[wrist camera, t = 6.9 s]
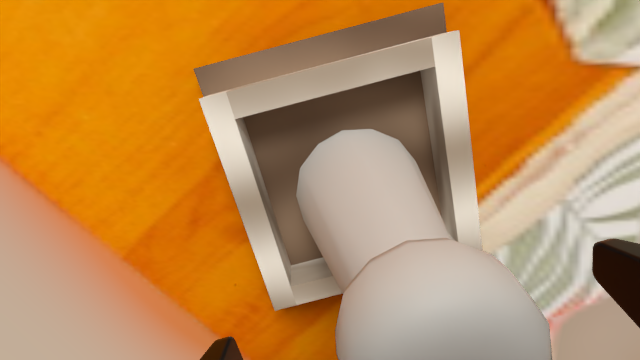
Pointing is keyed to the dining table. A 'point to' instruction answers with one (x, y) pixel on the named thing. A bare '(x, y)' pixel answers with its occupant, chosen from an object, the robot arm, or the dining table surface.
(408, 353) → the salt shaker
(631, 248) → the robot arm
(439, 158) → the shaker stand
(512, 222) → the dining table surface
